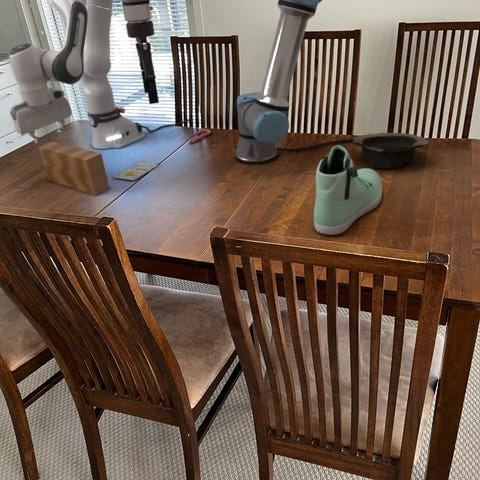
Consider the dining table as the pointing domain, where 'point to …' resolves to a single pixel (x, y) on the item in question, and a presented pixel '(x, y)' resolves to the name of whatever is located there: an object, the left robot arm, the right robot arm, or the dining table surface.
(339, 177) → the sneaker
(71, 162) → the box
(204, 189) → the dining table surface
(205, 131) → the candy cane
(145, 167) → the baking ingredient package
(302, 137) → the dining table surface
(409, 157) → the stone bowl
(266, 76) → the right robot arm
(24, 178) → the dining table surface
